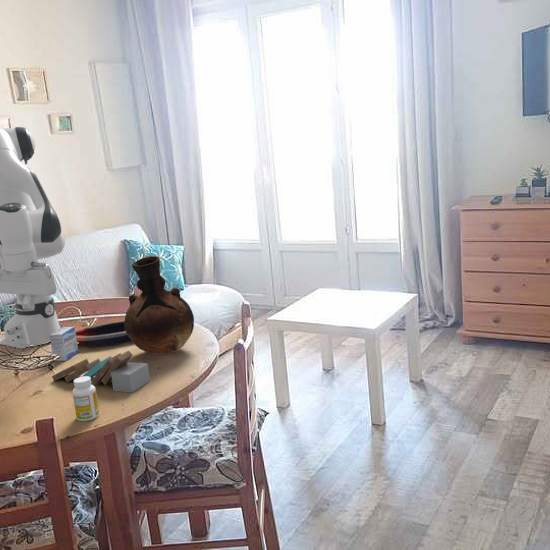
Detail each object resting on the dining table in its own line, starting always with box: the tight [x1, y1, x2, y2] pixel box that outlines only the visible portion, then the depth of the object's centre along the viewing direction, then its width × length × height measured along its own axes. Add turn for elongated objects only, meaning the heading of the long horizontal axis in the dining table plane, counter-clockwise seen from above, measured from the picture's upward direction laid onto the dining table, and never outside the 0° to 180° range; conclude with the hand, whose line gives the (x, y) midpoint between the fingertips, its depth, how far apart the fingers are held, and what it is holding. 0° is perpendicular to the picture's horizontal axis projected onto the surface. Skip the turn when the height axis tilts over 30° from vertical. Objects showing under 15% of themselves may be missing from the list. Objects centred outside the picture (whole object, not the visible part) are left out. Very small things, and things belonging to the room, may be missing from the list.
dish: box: [75, 320, 132, 348], centre depth 212 cm, size 16×31×5 cm, turn 102°
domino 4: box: [91, 352, 122, 386], centre depth 173 cm, size 2×5×10 cm
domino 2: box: [63, 358, 101, 383], centre depth 177 cm, size 2×5×10 cm
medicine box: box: [50, 326, 79, 362], centre depth 199 cm, size 8×4×9 cm, turn 168°
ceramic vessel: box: [123, 255, 195, 355], centre depth 193 cm, size 21×18×30 cm
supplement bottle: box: [72, 375, 100, 422], centre depth 153 cm, size 5×5×10 cm
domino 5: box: [100, 350, 133, 386], centre depth 172 cm, size 2×5×10 cm
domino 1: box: [51, 358, 90, 382], centre depth 179 cm, size 2×5×10 cm
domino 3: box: [81, 356, 112, 379], centre depth 175 cm, size 2×5×10 cm
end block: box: [111, 361, 151, 393], centre depth 170 cm, size 6×8×5 cm
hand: (29, 308), depth 181 cm, fingers closed
